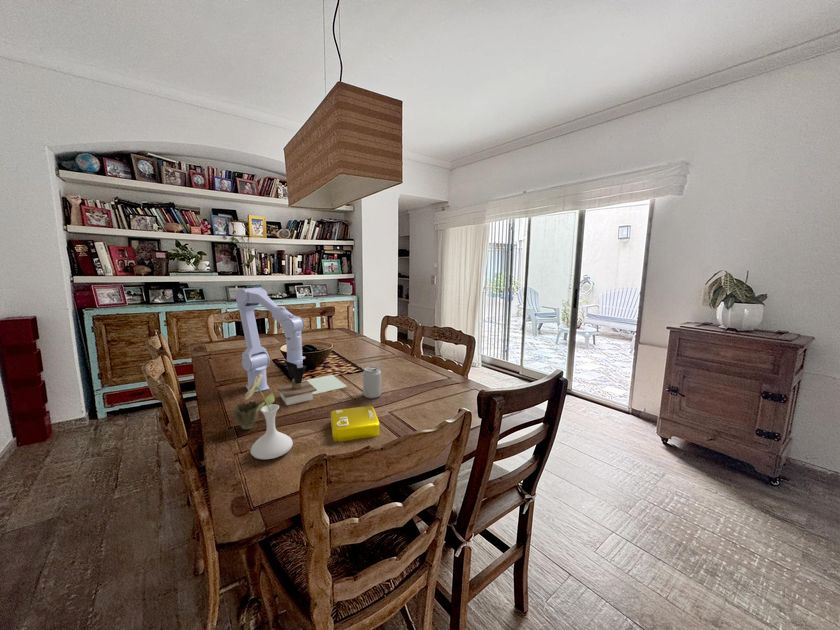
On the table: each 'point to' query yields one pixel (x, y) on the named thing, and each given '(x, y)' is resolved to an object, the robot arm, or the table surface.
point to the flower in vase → (268, 428)
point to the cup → (246, 414)
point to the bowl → (297, 398)
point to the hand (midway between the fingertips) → (295, 380)
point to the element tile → (354, 423)
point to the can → (371, 382)
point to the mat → (326, 383)
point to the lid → (296, 389)
